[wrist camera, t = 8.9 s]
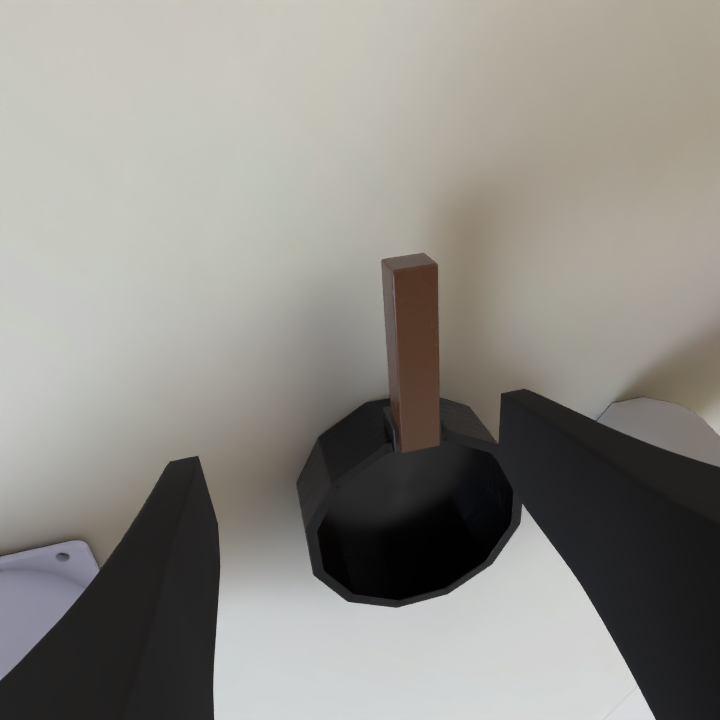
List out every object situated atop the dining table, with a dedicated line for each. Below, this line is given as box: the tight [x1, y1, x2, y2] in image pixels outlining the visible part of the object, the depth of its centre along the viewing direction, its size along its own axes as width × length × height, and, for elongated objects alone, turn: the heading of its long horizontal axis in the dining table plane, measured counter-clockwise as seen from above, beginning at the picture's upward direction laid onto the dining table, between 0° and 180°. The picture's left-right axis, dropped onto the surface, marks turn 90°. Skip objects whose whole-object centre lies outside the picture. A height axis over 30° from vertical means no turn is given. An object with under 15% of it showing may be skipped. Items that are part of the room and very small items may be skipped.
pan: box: [296, 253, 522, 608], centre depth 23 cm, size 17×10×4 cm, turn 5°
